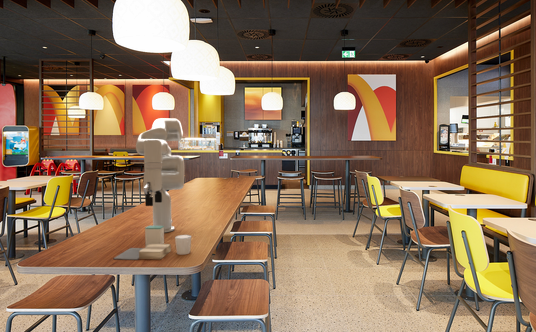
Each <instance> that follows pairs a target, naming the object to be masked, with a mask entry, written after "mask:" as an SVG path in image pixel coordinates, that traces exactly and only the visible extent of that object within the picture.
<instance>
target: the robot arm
mask: <svg viewBox="0 0 536 332" xmlns="http://www.w3.org/2000/svg"><path fill="white" fill-rule="evenodd" d="M183 135H184V131H183V127H182V123H181V121H180V120H179V119H177V118H168V117H166V118H165V117H164V118H163V117H160V118H157V119H155V120H154V121H153V123H152V126H151V128H150V129H149V130H146V131H143V132H142V133H140V134H139V135H138V137H137V140H136V144H135V150H136V153H137V154H138V155H140V156H143V157H144V158H143V162H144V165H143V166H144V167H143V168H144V172H143V184H142V185H143V186H142V187H143V192H144V193H143V194H144V199H145V201H144V205H145V207H152V226H164V234H165V233H170V232H173V231H175V226H173V225H172V223H173V220H172V198H171V195H170V194H169V192H168V191H169V190H170V191H172V190H173V191H175V190H182V189H183V188H184V186H185V160H184V158H183V156H181V155H172V149H171V147H170V146H169V143H168V142H179V141H181V140H182V139H183V137H184V136H183Z"/></svg>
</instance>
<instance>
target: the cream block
mask: <svg viewBox="0 0 536 332" xmlns="http://www.w3.org/2000/svg"><path fill="white" fill-rule="evenodd" d="M144 233H145V234H144V237H145V238H144V240H145V247H146V246H148V245H149V244H165V233H164V226H153V225H147V226H146V227H145V228H144Z"/></svg>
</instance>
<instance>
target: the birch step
mask: <svg viewBox="0 0 536 332" xmlns="http://www.w3.org/2000/svg"><path fill="white" fill-rule="evenodd" d="M171 246H172V245H171V244H170V243H164V244H149V245H148V246H146V245H145V247H142V248H143V249H142V250H140V251H139V259H138V260H162V259H163V258H165V257H166V256H167V255H168V254H169V253H170V252H172V247H171Z"/></svg>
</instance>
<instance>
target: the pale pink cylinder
mask: <svg viewBox="0 0 536 332" xmlns="http://www.w3.org/2000/svg"><path fill="white" fill-rule="evenodd" d="M174 240H175V242H174V243H175V249H176V254H177V255H178V256H179V255H180V256H182V255H188V254H190V253H191V244H192V235H189V234H179V235H176V236H175V237H174Z"/></svg>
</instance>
